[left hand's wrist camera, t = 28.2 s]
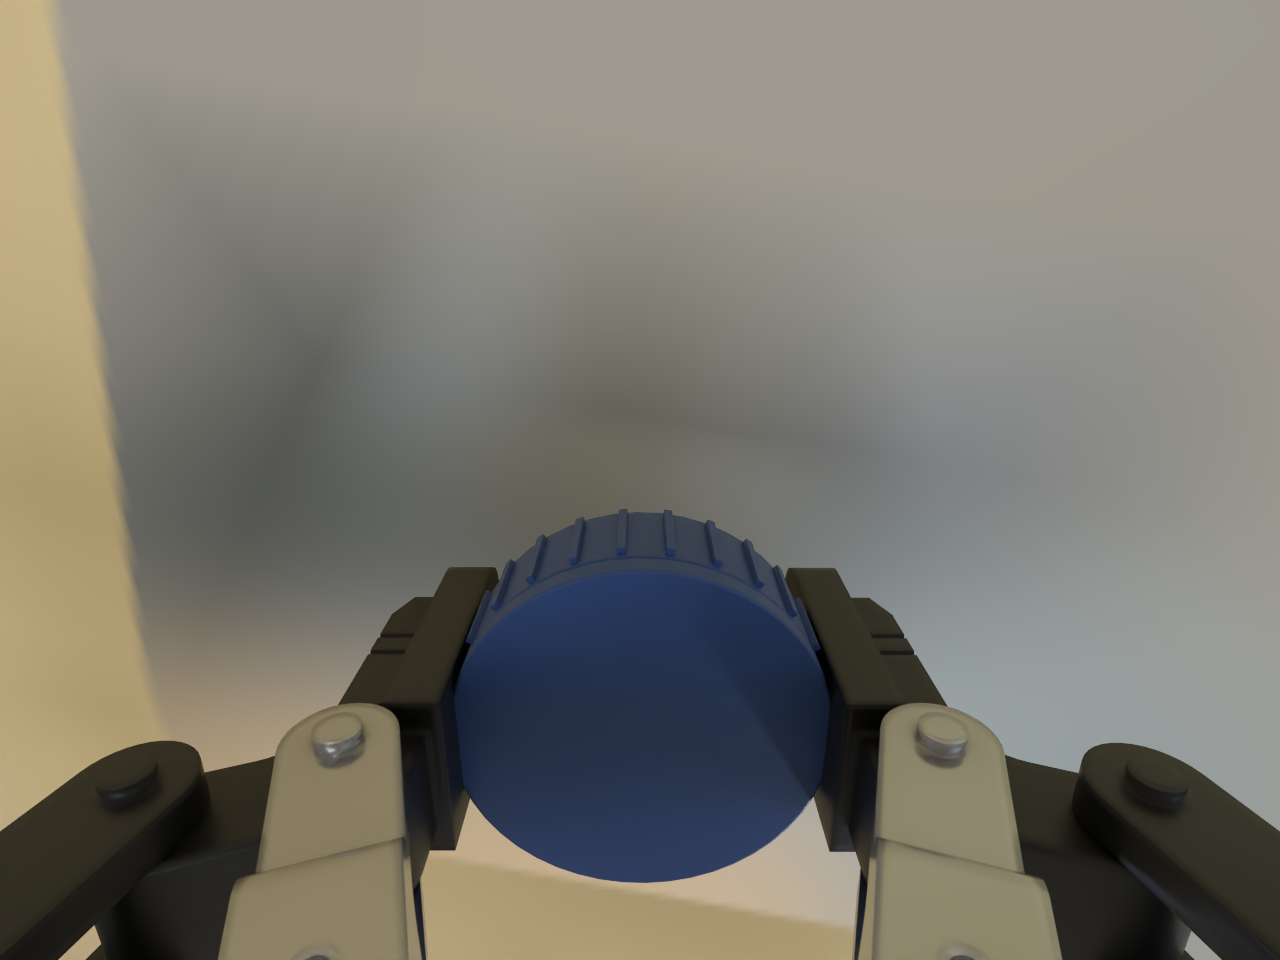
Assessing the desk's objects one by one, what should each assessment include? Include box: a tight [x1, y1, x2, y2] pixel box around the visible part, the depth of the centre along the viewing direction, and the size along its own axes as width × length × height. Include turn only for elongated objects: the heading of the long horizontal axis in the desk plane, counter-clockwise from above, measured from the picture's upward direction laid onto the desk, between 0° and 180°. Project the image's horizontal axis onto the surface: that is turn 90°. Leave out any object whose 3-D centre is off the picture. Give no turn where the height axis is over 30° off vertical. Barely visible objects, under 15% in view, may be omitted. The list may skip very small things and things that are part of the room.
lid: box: [454, 509, 830, 883], centre depth 10 cm, size 5×5×2 cm
